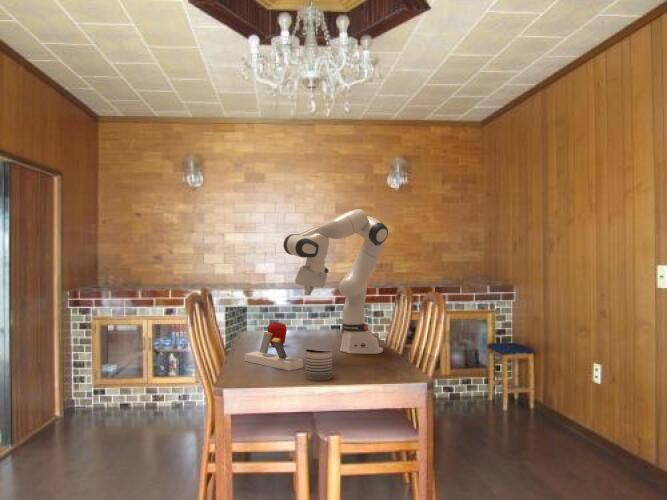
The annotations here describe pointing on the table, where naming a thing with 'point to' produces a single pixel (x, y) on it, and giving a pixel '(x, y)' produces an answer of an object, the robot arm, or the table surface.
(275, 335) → the red rounded lump
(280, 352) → the black rocker
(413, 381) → the table surface
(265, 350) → the grey rocker
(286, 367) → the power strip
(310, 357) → the can
